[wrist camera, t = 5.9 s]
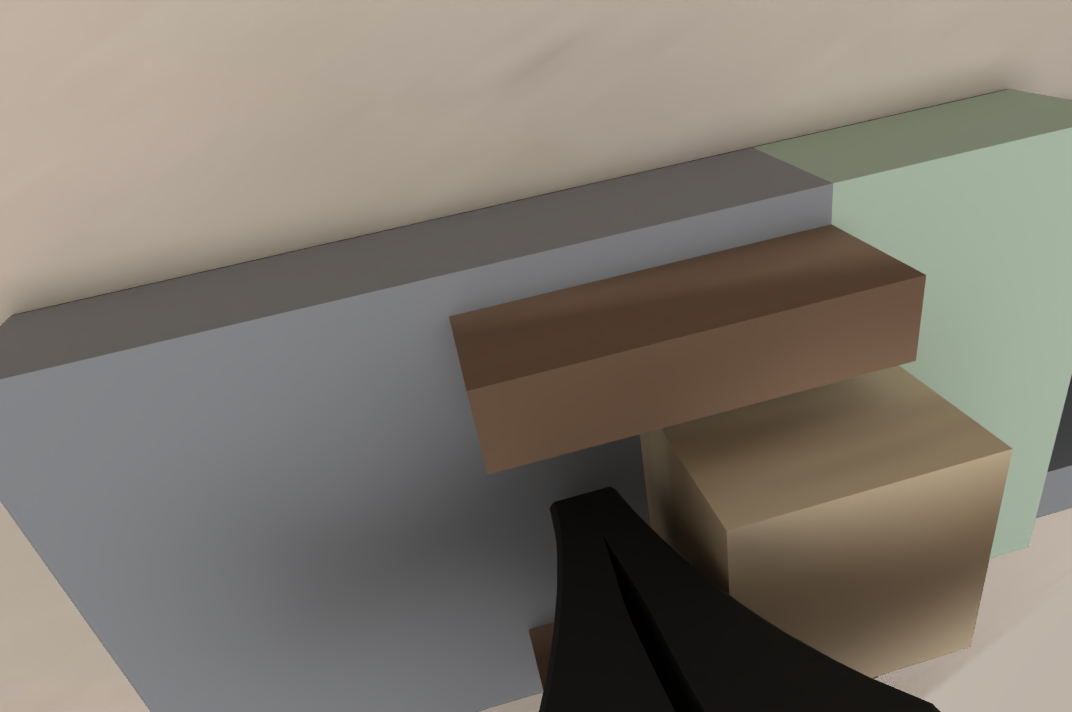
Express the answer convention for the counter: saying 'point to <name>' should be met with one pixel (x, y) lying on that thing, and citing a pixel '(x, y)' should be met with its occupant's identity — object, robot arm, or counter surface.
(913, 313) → the brown rectangular blocks
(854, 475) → the maple block
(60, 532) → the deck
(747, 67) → the counter surface
